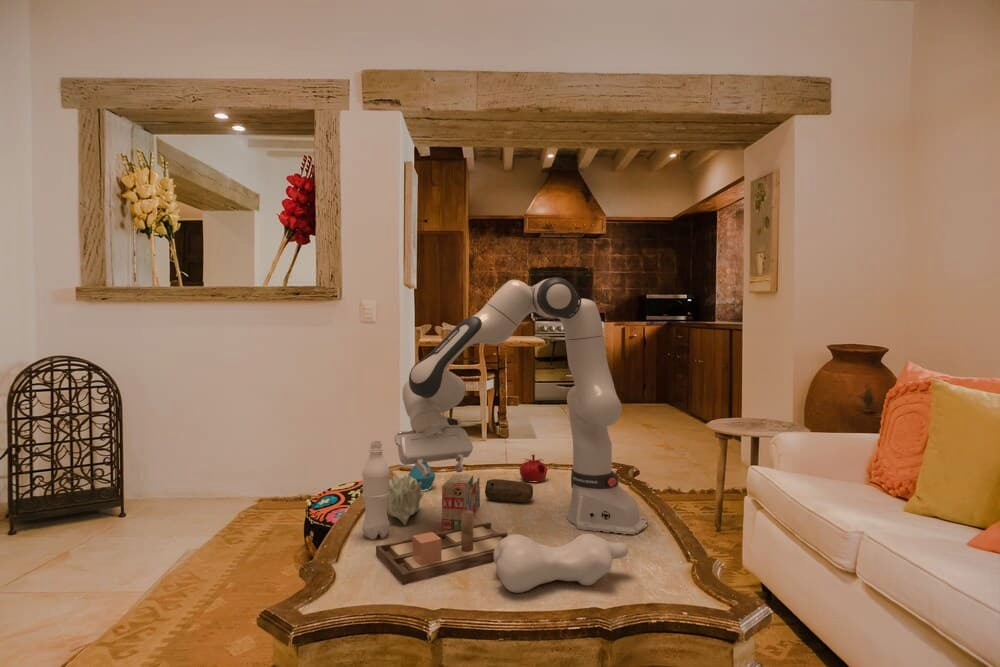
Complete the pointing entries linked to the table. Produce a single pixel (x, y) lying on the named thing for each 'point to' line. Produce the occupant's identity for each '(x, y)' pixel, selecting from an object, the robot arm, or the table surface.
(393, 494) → the wavy plaster lump
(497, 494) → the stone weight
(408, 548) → the broken strip
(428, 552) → the terracotta cube
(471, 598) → the table surface
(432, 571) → the board
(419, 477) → the perfume bottle
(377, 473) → the water bottle
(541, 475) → the pomegranate
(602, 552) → the torso sculpture
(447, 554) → the wooden post stand
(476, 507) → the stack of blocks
